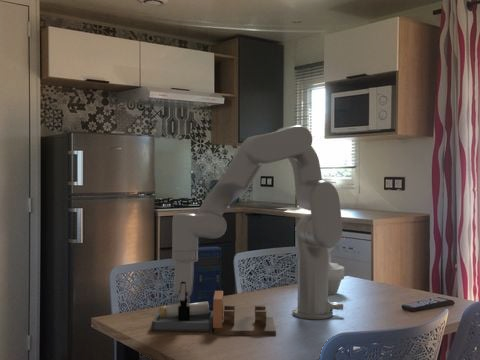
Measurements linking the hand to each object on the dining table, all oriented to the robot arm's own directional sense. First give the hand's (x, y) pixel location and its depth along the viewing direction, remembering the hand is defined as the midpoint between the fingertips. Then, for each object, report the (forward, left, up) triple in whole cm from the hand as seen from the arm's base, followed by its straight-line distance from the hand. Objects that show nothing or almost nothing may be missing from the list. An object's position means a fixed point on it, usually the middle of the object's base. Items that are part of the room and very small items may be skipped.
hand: (184, 318), depth 158 cm
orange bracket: (-10, +2, -1) cm, 10 cm away
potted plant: (-49, -44, -2) cm, 66 cm away
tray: (0, 0, -2) cm, 2 cm away
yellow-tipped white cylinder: (0, 0, +1) cm, 1 cm away
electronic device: (-5, -18, -2) cm, 19 cm away
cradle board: (-18, +2, -2) cm, 18 cm away
